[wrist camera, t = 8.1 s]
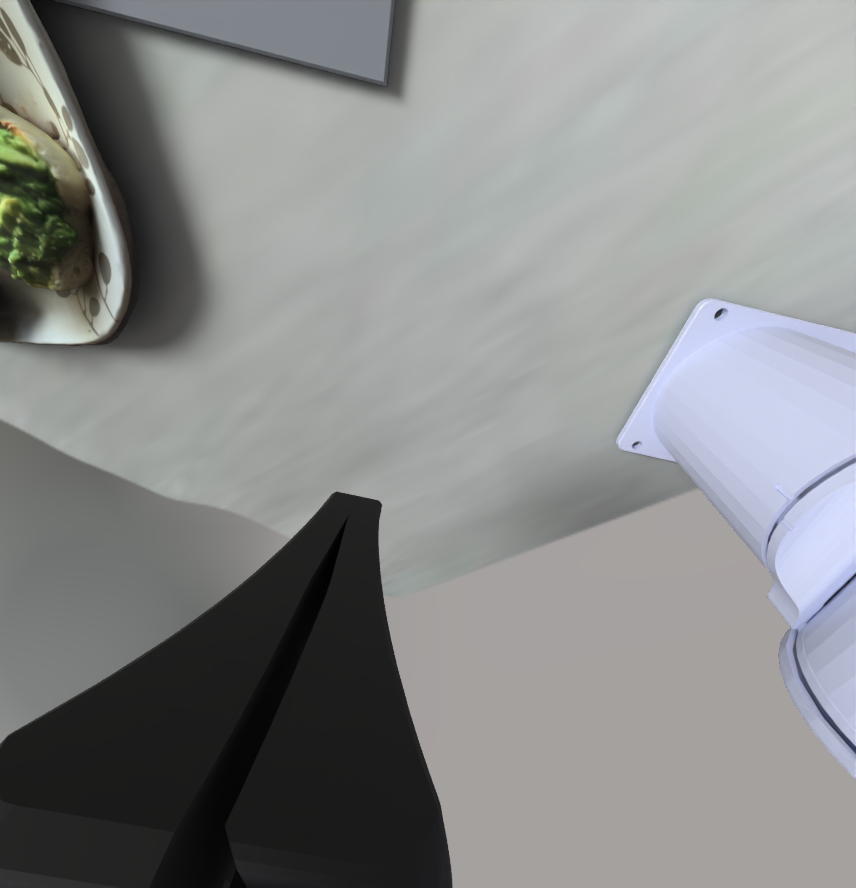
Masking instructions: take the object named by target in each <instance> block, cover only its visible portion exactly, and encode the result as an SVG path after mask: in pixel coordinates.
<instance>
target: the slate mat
mask: <svg viewBox="0 0 856 888" xmlns="http://www.w3.org/2000/svg"><path fill="white" fill-rule="evenodd" d="M54 1H57V2H61V3H65V4H69V5H73V6H77V7H81V8H85V9H88V10H92V11H96V12H100V13H104V14H108V15H112V16H115V17H119V18H123V19H127V20H131V21H135V22H139V23H142V24H146V25H150V26H154V27H158V28H162V29H166V30H170V31H173V32H177V33H181V34H185V35H189V36H193V37H197V38H200V39H204V40H208V41H212V42H216V43H220V44H224V45H228V46H231V47H235V48H239V49H243V50H247V51H251V52H255V53H258V54H262V55H266V56H270V57H274V58H278V59H282V60H286V61H289V62H293V63H297V64H301V65H305V66H309V67H313V68H316V69H320V70H324V71H328V72H332V73H336V74H340V75H344V76H347V77H351V78H355V79H359V80H363V81H367V82H371V83H374V84H378V85H382V86H386V87H387V78H388V68H389V58H390V48H391V38H392V28H393V19H394V9H395V0H54Z"/></svg>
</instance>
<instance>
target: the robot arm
mask: <svg viewBox="0 0 856 888" xmlns="http://www.w3.org/2000/svg"><path fill="white" fill-rule="evenodd" d="M720 309H723V311H722V314H721V315H720V316H719V317H717V318H714V316H715V313H716V312H717V311H718V310H720ZM637 441H639V443H638V444H637V445H632V444H633V443H634V442H637ZM616 443H617V445H618V447H619V448H620V449H621V450H624V451H628V452H633V453H637V454H642V455H646V456H651V457H655V458H660V459H664V460H669V461H673V462H677V463H678V464H679V465H680V466H681V467H682V468H683V470H684V471H685V472H686V473H687V474H688V476H689V477H690V478H691V479H692V480H693V482H694V483H695V484H696V485H697V486H698V488H699V489H700V490H701V491H702V492H703V493H704V495H705V496H706V497H707V498H708V500H709V501H710V502H711V503H712V504H713V505H714V507H715V508H716V509H717V510H718V511H719V513H720V514H721V515H722V516H723V517H724V519H725V520H726V521H727V522H728V523H729V525H730V526H731V527H732V528H733V529H734V531H735V532H736V533H737V534H738V535H739V537H740V538H741V539H742V540H743V541H744V543H745V544H746V545H747V546H748V547H749V548H750V550H751V551H752V552H753V553H754V554H755V556H756V557H757V558H758V559H759V560H760V562H761V563H762V564H763V565H764V566H765V568H766V569H767V570H768V571H769V572H770V573H771V575H772V577H773V586H772V589H771V590H770V591H769V593H768V595H767V597H768V598H769V600H770V601H771V602H772V604H773V605H774V606H775V608H776V609H777V610H778V611H779V613H780V614H781V615H782V617H783V618H784V619H785V620H786V622H787V623H788V624H789V626H790V627H791V628H790V629H789V630H788V631H787V632H786V633H785V635H784V637H783V639H782V640H781V643H780V649H779V655H778V656H779V664H780V670H781V674H782V676H783V680H784V683H785V686H786V688H787V690H788V692H789V694H790V696H791V698H792V700H793V702H794V703H795V706H796V707H797V709H798V710H799V712H800V713H801V715H802V716H803V718H804V719H805V721H806V723H807V724H808V725H809V727H810V728H811V730H812V731H813V732H814V733H815V735H816V736H817V737H818V738H819V740H820V741H821V742H822V744H823V745H824V746H825V747H826V749H827V750H828V751H829V752H830V753H831V754H832V755H833V756H834V757H835V758H836V760H837V761H838V762H839V763H840V764H841V765H842V766H843V767H844V768H845V770H846V771H847V772H848V773H849V774H851V776H853V778H855V779H856V333H853V332H849V331H845V330H841V329H837V328H833V327H829V326H825V325H820V324H816V323H812V322H808V321H804V320H800V319H796V318H792V317H788V316H783V315H779V314H775V313H771V312H767V311H763V310H759V309H755V308H751V307H747V306H742V305H738V304H734V303H730V302H726V301H722V300H718V299H714V298H707V299H705V300H702V301H701V302H700V303H698V304H697V306H696V307H695V308H694V310H693V312H692V313H691V315H690V317H689V318H688V320H687V322H686V324H685V325H684V327H683V329H682V330H681V332H680V334H679V335H678V337H677V339H676V340H675V342H674V344H673V345H672V347H671V349H670V350H669V352H668V354H667V355H666V357H665V359H664V360H663V362H662V364H661V365H660V367H659V369H658V371H657V372H656V374H655V376H654V377H653V379H652V381H651V382H650V384H649V386H648V387H647V389H646V391H645V392H644V394H643V396H642V397H641V399H640V401H639V402H638V404H637V406H636V407H635V409H634V411H633V412H632V414H631V416H630V418H629V419H628V421H627V423H626V424H625V426H624V428H623V429H622V431H621V433H620V434H619V436H618V438H617V440H616ZM381 507H382V504H381V503H380V501H378V500H374V499H369V498H364V497H359V496H355V495H350V494H345V493H340V492H335V493H333V494H332V495H331V496H330V497H329V499H328V500H327V501H326V502H325V503H324V505H323V506H322V507H321V508H320V509H319V511H318V512H317V513H316V514H315V515H314V516H313V517H312V518H311V519H310V520H309V521H308V523H307V524H306V525H305V526H304V527H303V528H302V529H301V530H300V531H299V532H298V533H297V534H296V535H295V536H294V537H293V538H292V539H291V540H290V541H289V542H288V543H287V544H286V545H285V546H284V547H283V548H282V549H281V550H280V551H278V552H277V553H276V554H275V555H274V556H273V557H272V558H271V559H270V560H268V561H267V562H266V563H265V564H264V565H263V566H262V567H261V568H260V569H259V570H257V571H256V572H255V573H254V574H253V575H252V576H250V577H249V578H248V579H247V580H246V581H244V582H243V583H242V584H241V585H240V586H239V587H237V588H236V589H235V590H233V591H232V592H231V593H229V594H228V595H227V596H226V597H224V598H223V599H222V600H221V601H219V602H218V603H217V604H215V605H214V606H213V607H211V608H210V609H209V610H207V611H206V612H204V613H203V614H202V615H200V616H199V617H198V618H196V619H195V620H193V621H192V622H191V623H189V624H188V625H187V626H185V627H184V628H182V629H181V630H180V631H178V632H177V633H175V634H174V635H172V636H171V637H169V638H168V639H166V640H165V641H164V642H162V643H160V644H159V645H157V646H156V647H154V648H152V649H151V650H149V651H148V652H146V653H145V654H143V655H142V656H140V657H138V658H137V659H135V660H134V661H132V662H131V663H129V664H128V665H126V666H124V667H123V668H121V669H120V670H118V671H117V672H115V673H114V674H112V675H111V676H109V677H107V678H105V679H104V680H102V681H101V682H99V683H97V684H96V685H94V686H92V687H91V688H89V689H88V690H85V691H84V692H82V693H80V694H79V695H77V696H75V697H73V698H72V699H70V700H68V701H66V702H65V703H63V704H61V705H59V706H58V707H56V708H54V709H53V710H51V711H49V712H47V713H46V714H44V715H42V716H41V717H39V718H37V719H35V720H34V721H32V722H30V723H28V724H27V725H25V726H23V727H21V728H20V729H18V730H16V731H14V732H13V733H11V734H10V735H8V736H7V737H6V738H5V739H4V741H2V743H1V744H0V888H452V873H451V864H450V857H449V851H448V844H447V838H446V833H445V828H444V822H443V817H442V811H441V805H440V802H439V799H438V796H437V793H436V790H435V787H434V785H433V782H432V779H431V776H430V773H429V771H428V768H427V764H426V761H425V759H424V756H423V753H422V750H421V747H420V743H419V740H418V737H417V734H416V731H415V727H414V724H413V721H412V718H411V715H410V711H409V708H408V704H407V701H406V697H405V693H404V689H403V686H402V682H401V679H400V675H399V671H398V667H397V664H396V659H395V655H394V650H393V646H392V642H391V637H390V632H389V627H388V622H387V617H386V611H385V605H384V598H383V591H382V583H381V574H380V562H379V545H378V531H379V518H380V513H381Z"/></svg>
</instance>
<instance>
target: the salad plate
mask: <svg viewBox="0 0 856 888" xmlns="http://www.w3.org/2000/svg"><path fill="white" fill-rule="evenodd" d="M138 286H139V262H138V258H137V253H136V248H135V243H134V236H133V230H132V224H131V220H130V217H129V214H128V210H127V207H126V204H125V200H124V198H123V195H122V193H121V191H120V189H119V187H118V185H117V183H116V181H115V179H114V178H113V176H112V174H111V173H110V171H109V170H108V168H107V167H106V165H105V163H104V161H103V159H102V157H101V155H100V153H99V151H98V149H97V147H96V144H95V142H94V140H93V137H92V135H91V133H90V130H89V128H88V126H87V123H86V120H85V118H84V115H83V113H82V110H81V108H80V105H79V102H78V100H77V98H76V96H75V93H74V91H73V89H72V87H71V84H70V82H69V79H68V76H67V73H66V71H65V68H64V66H63V64H62V62H61V60H60V58H59V56H58V54H57V52H56V50H55V48H54V46H53V44H52V42H51V40H50V38H49V36H48V34H47V32H46V30H45V28H44V27H43V25H42V23H41V21H40V19H39V17H38V15H37V13H36V12H35V10H34V8H33V6H32V4H31V2H30V0H0V342H12V343H34V344H57V345H71V346H79V345H102V344H107V343H110V342H112V341H113V340H115V339H116V338H117V337H118V336H119V335H120V333H121V332H122V330H123V329H124V327H125V326H126V324H127V322H128V320H129V318H130V316H131V313H132V311H133V309H134V306H135V304H136V302H137V295H138Z"/></svg>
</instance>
